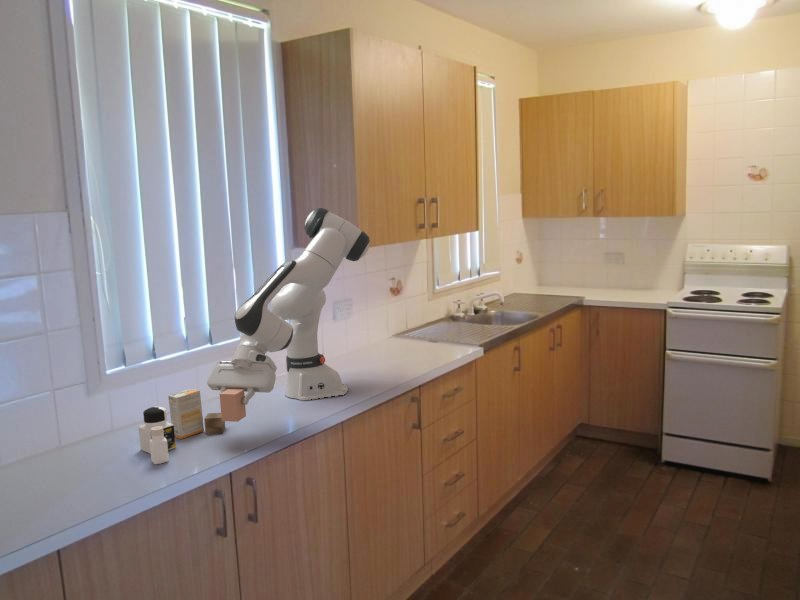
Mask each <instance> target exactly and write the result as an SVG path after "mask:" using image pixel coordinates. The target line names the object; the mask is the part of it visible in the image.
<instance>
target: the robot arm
mask: <svg viewBox="0 0 800 600" xmlns="http://www.w3.org/2000/svg"><path fill="white" fill-rule="evenodd" d="M304 232H305V234H306V235H307V236H308V237H309V239H311V241H310V242H309V243H308V244H307V246H306V247H305V249H304V250H303V252H302V253H301V255H300V256H298V257H297V258H296V259H294V260H293V259H292V260H291V259H289V260H288V259H287V260H286V261H284V262H283V263H282V264H281V265H280V266H278V268H277V269H276V270H275V271H273V273H272V274H271V275H270V276H269V277H268V278H267V279H266V280H265V282H263V284H262V285H261V286H260V287H259V288H258V289H257V290H256V291H255V293H253V295H252V296H250V298H248V299H247V300H246V301H244V303H242V304H241V305H240V306H239V307H238V309H237V310H236V312H235V314H234V323H235V328H236V330H237V331H238V332H240V333H241V335H240V338H239V344H238V345H237V346H236V349H235V351H234V353H233V358H232V359H231V360H227V361H225V360H221V361H218V362H217V363H215V364H214V366H213V369H212V370H211V372H210V374H209V376H208V378H207V380H206V385H207V386H208V387H209V389H210V390H211V391H219V392H220V393H222V392H224V391H226V390H227V389H244V393H246V392H247V393H246V394H245V397H242V398H241V399H242V400H241V404H242V405H245V406H247V405H248V404H249V401H250V400H251V399H252V398H253V397H254V396H255V393H268V394H270V393H271V392H272V391H273V389H274V387H275V384H276V383H275V382H276V377H277V375H276V373H277V372H276V371H277V369H278V367H277V365H276V364H275V362H274V360H273V359H272V358H271V357H270V356H268V355H266V353H275V352H280V351H283V350H285V349H286V357H285V358H286V359H285V366H286V372H287V380H286V382H287V384H286V390H285V394H284V395H285V397H287V398H291V399H297V400H299V401H312V400H318V398H320V399H325V398H324V397H328V398H332V397H331V396H335V397H339V396H338V395H343V394H345V393H346V392H347V391H348V392H349V388H348V385H347V384H345V383H344V382H342V379H341V375H340V374H339V372H338V371H337V370H335V369H334V368H332V367H331V366H329V365H328V364H326V363H325V362H326V357H325V356H324V354H323V353H322V354H321V353H320V352H319V344H318V343H319V342H318V340H319V339H318V328H319V323H320V319H321V313H322V310H323V308H324V306H325V304H326V302H327V297H326V292H325V291H324V288H326V287H327V286H328V284H329V283H330V282H331V280H332V278H333V277H334V275H335V273H336V272H337V270H338V268H339V267H340V265H341V263H342V261H343V260H344V258H345V259H346V260H348V261H351V262H358V261H360V259H362V258H363V257H365V255H366V254H367V253H368V251H369V248H370V242H371V240H370V236H369V235H368V234H367V233H366V232H365V231H364V230H361V229H359V227H357V226H356V225H355V224H353V223H352V222H350V221H349V220H346V219H344V218H343V217H341V216H340V215H337V214H335V213H333V212H330V211H329V210H328V209H327V208H324V207H318V208H314V210H312V211H311V212H310V213H309V214H308V215H307V217H306V219H305V223H304ZM269 303H270V308H271V310H270V309H269V308H268V304H269ZM288 321H290V323H289V322H288ZM348 392H347V393H348ZM347 393H346V394H347ZM346 394H345V395H346ZM343 396H344V395H343ZM311 399H312V400H311Z"/></svg>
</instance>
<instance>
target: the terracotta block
mask: <svg viewBox="0 0 800 600" xmlns="http://www.w3.org/2000/svg"><path fill="white" fill-rule="evenodd" d="M245 396H246V394H245V392H244V389H227V390H226V391H224V392H222V393H221V392H220V393H219V403H220V413H221V417H222V421H225V422H235V423H238V422H239V421H242V419H244V418H245V417H247V411H246V409H247V408H246V405H242V404H241V400H242V399H241V398H242V397H245Z"/></svg>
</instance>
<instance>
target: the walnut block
mask: <svg viewBox="0 0 800 600" xmlns="http://www.w3.org/2000/svg"><path fill="white" fill-rule="evenodd" d="M203 422H204V429H205V430H204V431H205V435H214V433H218V434H223V433H224V431H225V429H226V421H222V417H221V412H212V413H210V412H209V413H207V414H206V415H205V417H204V419H203Z"/></svg>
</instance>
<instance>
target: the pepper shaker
mask: <svg viewBox="0 0 800 600" xmlns="http://www.w3.org/2000/svg"><path fill="white" fill-rule="evenodd" d="M163 434H164V432H163V427H162V426H156V427H153V428H151V436H152V439H151V440H150V441H149V443H150V453H151V454H150V453H149V454H150V460H151V462H152V463H153V465H159V464H164V463H168V462H169V460H170V457H169V456H170V455H169V450H168V446H167V440H166V438H165V437H164V435H163Z"/></svg>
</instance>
